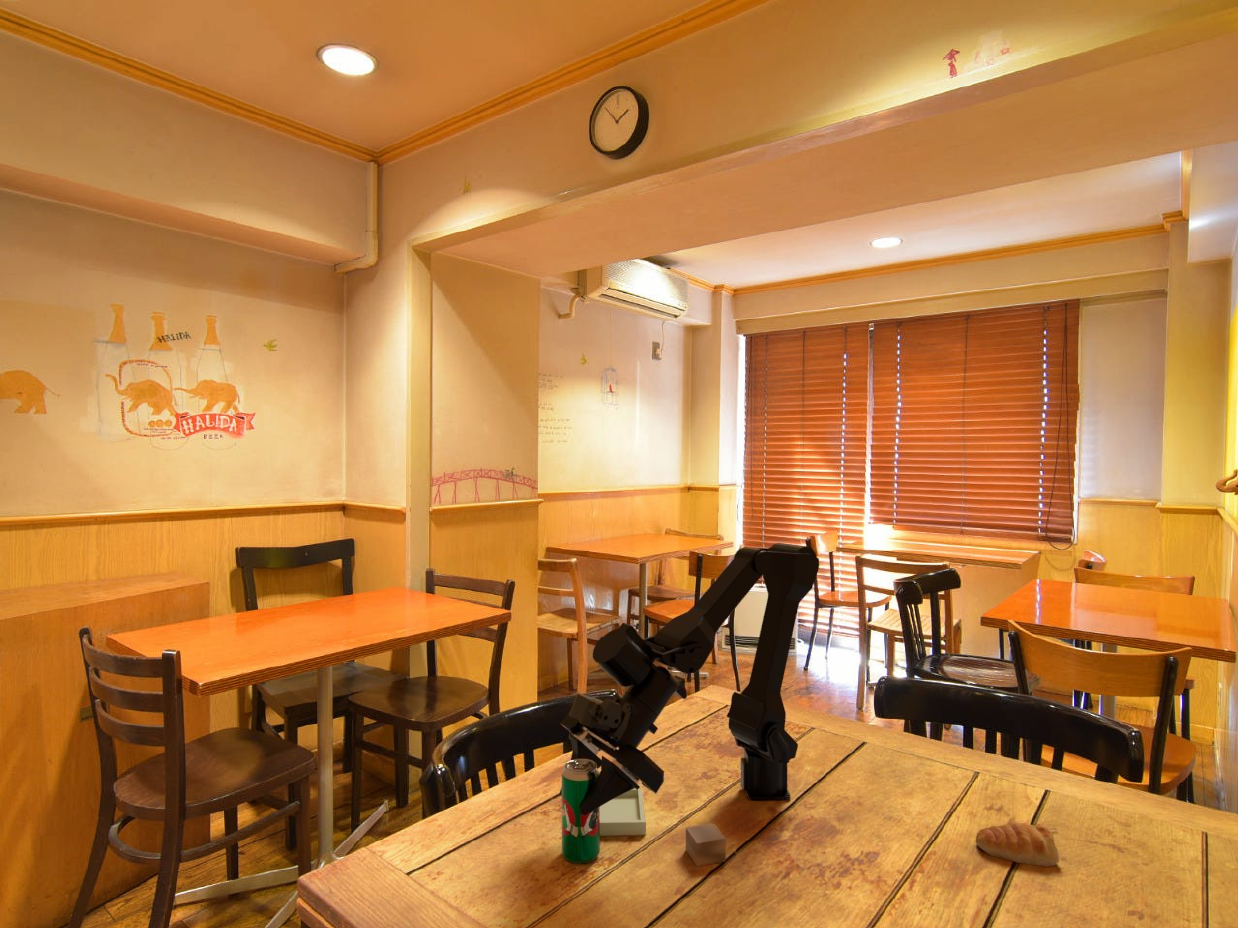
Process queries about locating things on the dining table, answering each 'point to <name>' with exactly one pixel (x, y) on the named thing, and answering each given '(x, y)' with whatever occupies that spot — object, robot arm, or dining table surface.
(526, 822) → the dining table surface
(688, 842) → the small brown cube
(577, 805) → the soda can
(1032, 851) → the pastry
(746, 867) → the dining table surface
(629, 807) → the tray
